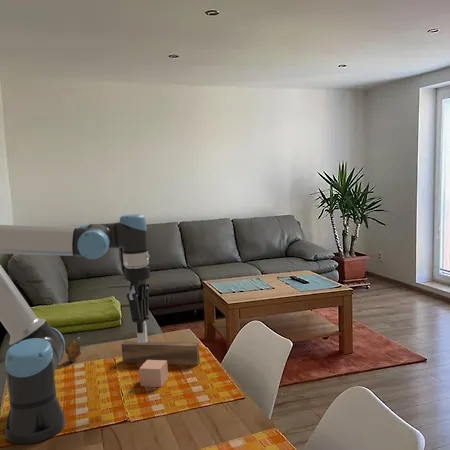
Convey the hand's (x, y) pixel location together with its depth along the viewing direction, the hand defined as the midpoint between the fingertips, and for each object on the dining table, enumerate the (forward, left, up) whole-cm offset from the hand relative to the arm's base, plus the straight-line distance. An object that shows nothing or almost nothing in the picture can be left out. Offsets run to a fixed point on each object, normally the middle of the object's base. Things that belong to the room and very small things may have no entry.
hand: (142, 341), depth 144 cm
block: (+8, 0, -17) cm, 19 cm away
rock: (+23, +36, -17) cm, 46 cm away
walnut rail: (+24, +3, -17) cm, 29 cm away
